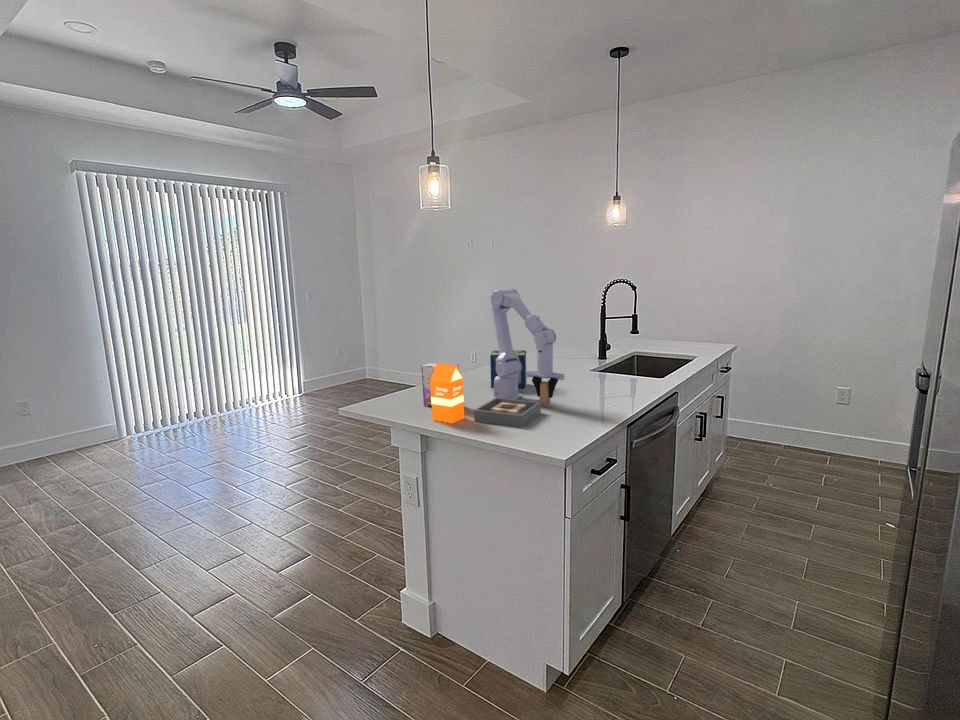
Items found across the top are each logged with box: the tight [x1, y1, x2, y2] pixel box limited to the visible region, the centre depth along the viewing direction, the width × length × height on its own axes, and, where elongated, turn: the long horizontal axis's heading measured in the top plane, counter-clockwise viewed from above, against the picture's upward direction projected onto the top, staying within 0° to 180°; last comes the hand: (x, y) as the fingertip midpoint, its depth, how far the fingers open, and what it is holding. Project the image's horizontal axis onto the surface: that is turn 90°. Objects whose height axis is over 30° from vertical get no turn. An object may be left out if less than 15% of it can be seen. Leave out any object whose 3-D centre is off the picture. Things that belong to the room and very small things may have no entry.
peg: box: [539, 380, 551, 405], centre depth 195 cm, size 4×4×8 cm
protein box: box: [489, 349, 528, 390], centre depth 228 cm, size 10×15×16 cm
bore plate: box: [490, 402, 527, 415], centre depth 187 cm, size 10×10×2 cm
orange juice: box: [430, 362, 465, 424], centre depth 182 cm, size 8×9×20 cm
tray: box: [473, 398, 541, 428], centre depth 184 cm, size 18×18×4 cm
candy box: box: [421, 362, 460, 407], centre depth 200 cm, size 14×6×16 cm, turn 65°
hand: (545, 396), depth 195 cm, fingers closed on peg, 4 cm apart
